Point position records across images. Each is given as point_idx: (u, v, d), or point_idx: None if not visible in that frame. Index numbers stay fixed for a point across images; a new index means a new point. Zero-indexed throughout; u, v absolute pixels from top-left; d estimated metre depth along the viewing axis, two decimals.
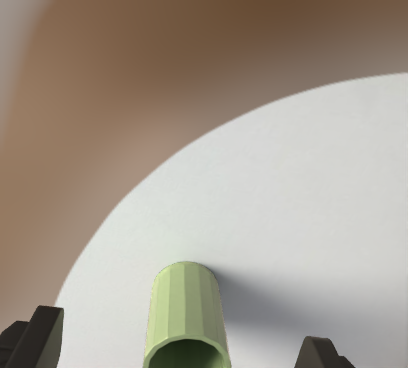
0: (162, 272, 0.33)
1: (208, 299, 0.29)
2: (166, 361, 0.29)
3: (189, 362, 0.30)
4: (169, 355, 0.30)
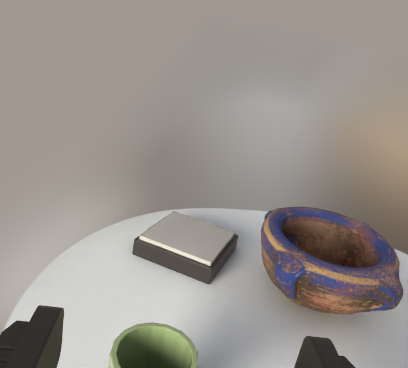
0: None
1: None
2: None
3: None
4: None
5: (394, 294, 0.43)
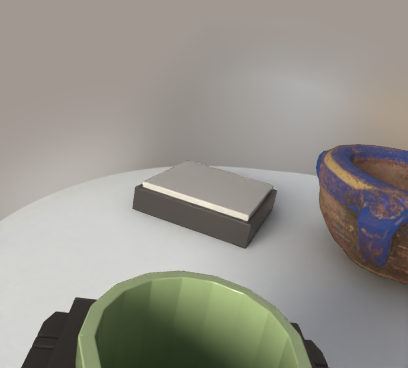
0: None
1: None
2: None
3: None
4: None
5: None
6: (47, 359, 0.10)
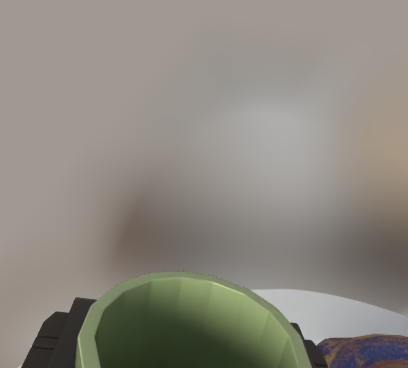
0: None
1: None
2: None
3: None
4: None
5: None
6: (47, 359, 0.10)
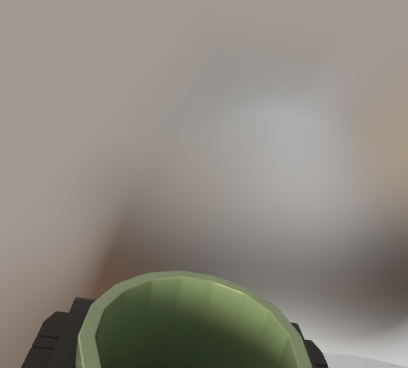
0: None
1: None
2: None
3: None
4: None
5: None
6: (47, 359, 0.10)
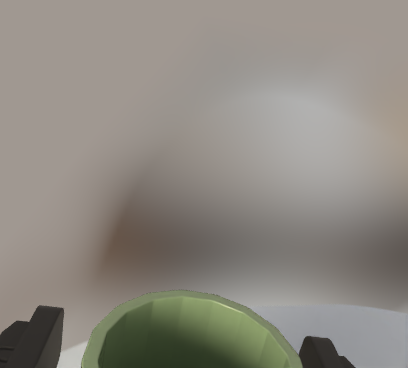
0: None
1: None
2: None
3: None
4: None
5: None
6: None
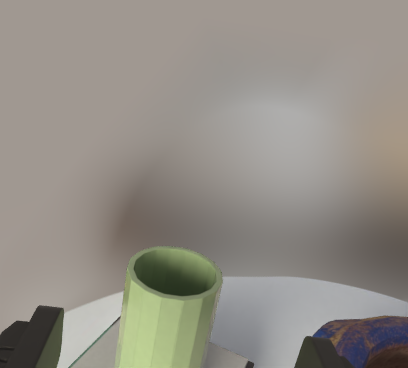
0: None
1: None
2: None
3: None
4: None
5: None
6: None
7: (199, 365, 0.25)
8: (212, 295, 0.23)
